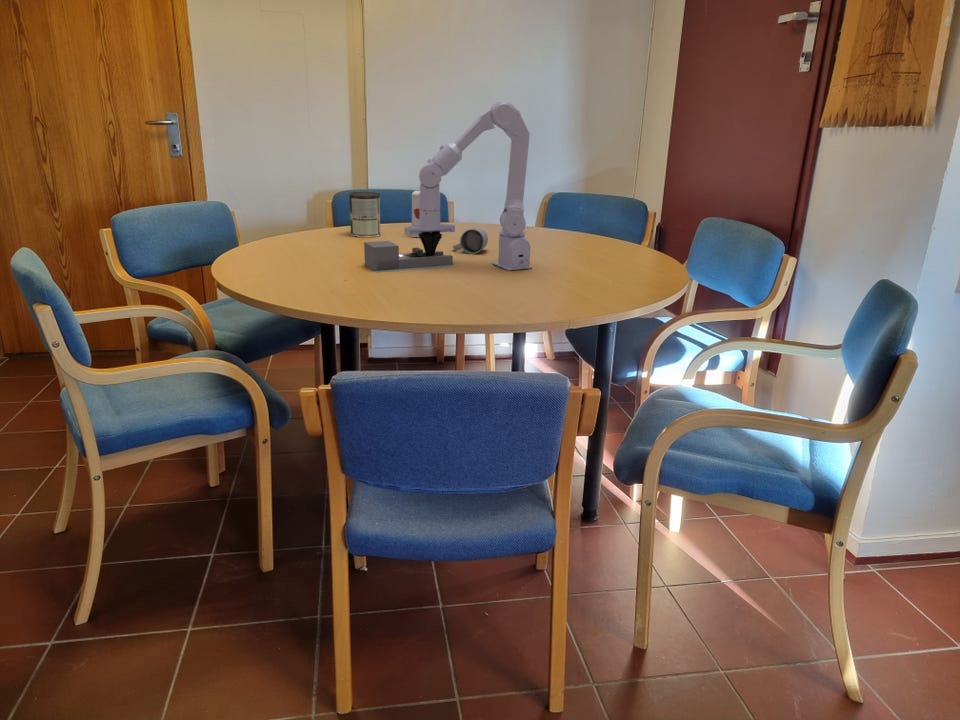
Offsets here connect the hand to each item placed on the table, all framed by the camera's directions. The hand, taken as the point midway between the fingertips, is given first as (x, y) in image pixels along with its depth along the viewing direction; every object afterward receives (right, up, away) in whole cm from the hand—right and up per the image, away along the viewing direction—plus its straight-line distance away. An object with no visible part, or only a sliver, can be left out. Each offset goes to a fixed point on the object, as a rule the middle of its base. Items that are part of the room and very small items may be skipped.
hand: (429, 258), depth 196 cm
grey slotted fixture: (-4, -2, -1) cm, 5 cm away
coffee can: (-25, +14, +43) cm, 52 cm away
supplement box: (-5, +14, +45) cm, 47 cm away
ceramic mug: (+11, +5, +21) cm, 24 cm away
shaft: (-7, -2, -3) cm, 8 cm away
